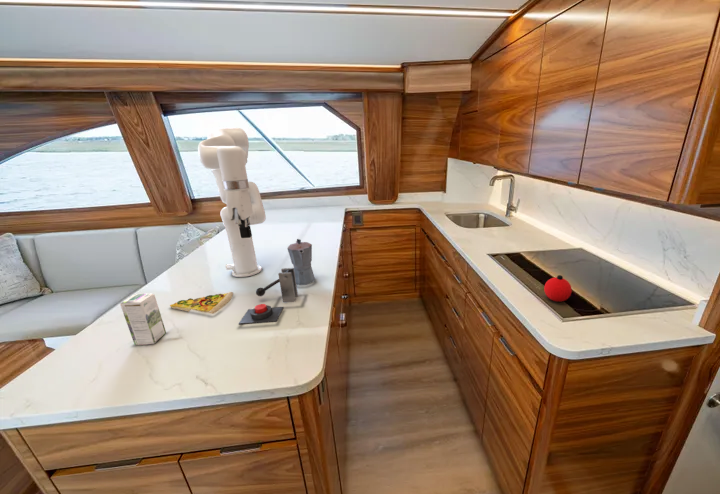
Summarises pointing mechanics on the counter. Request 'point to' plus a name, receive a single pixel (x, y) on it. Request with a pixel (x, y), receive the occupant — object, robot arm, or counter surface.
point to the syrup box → (143, 318)
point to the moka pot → (302, 262)
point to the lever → (267, 287)
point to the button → (260, 308)
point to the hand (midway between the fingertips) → (246, 237)
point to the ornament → (558, 289)
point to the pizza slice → (204, 303)
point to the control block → (261, 316)
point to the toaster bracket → (288, 285)
